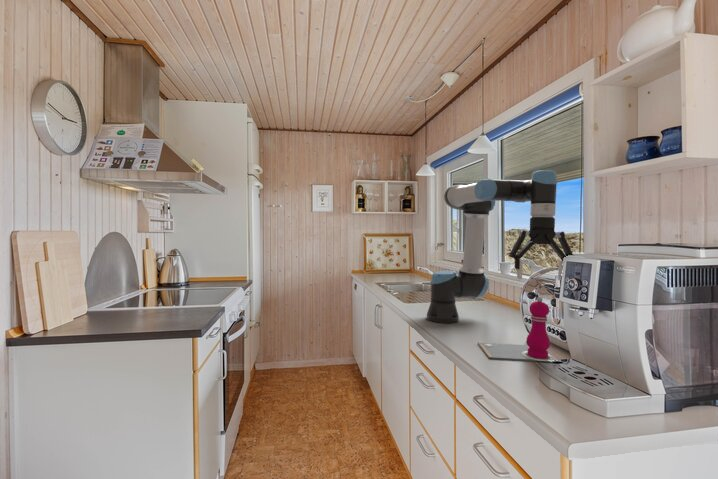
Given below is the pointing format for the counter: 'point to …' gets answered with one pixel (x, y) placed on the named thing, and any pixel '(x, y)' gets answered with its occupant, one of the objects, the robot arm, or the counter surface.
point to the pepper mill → (538, 330)
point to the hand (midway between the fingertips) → (540, 279)
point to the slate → (509, 352)
